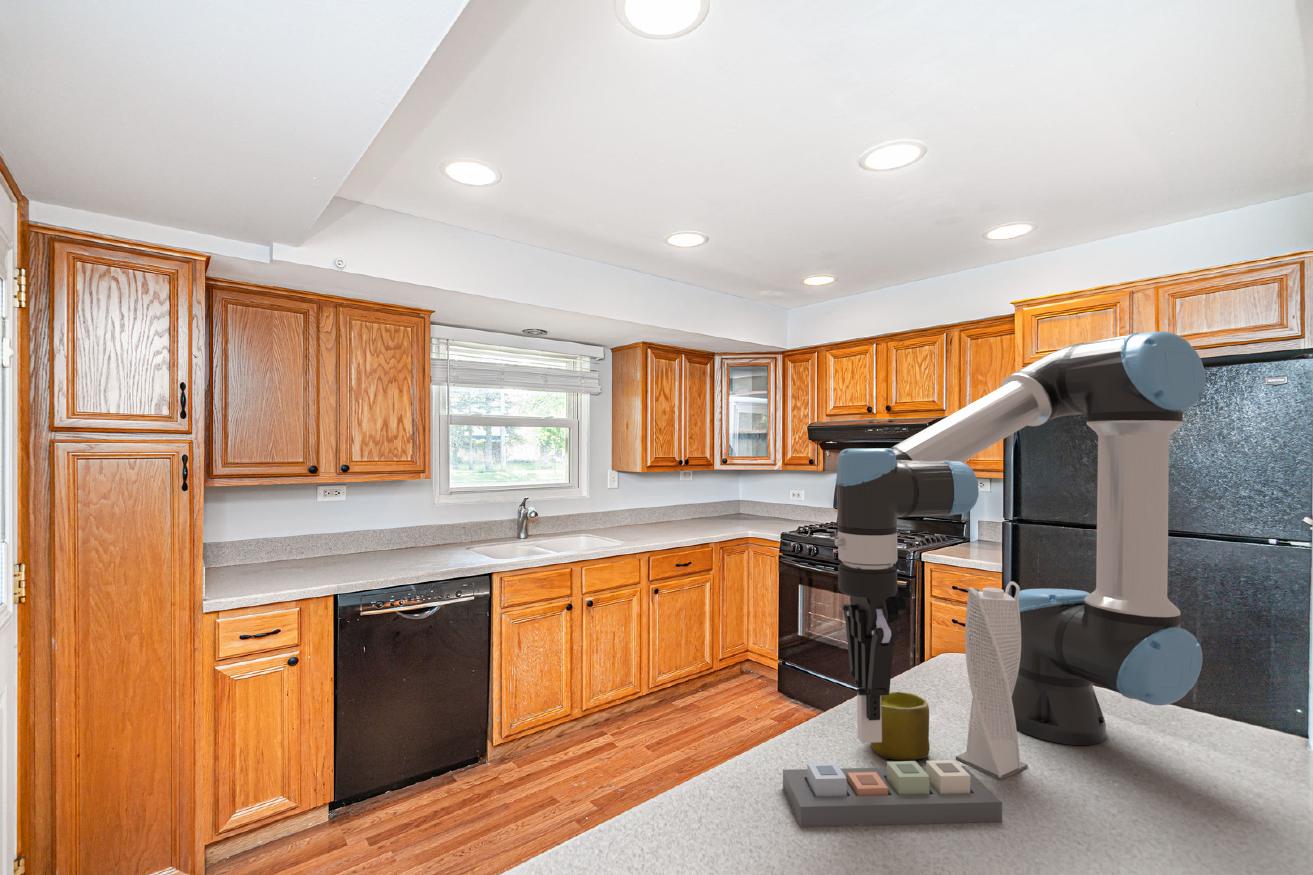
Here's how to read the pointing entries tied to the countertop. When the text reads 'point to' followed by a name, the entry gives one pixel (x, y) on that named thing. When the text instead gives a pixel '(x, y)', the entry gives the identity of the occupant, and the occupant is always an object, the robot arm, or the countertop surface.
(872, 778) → the key terracotta
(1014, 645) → the skyscraper
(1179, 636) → the robot arm
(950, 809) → the keyguard frame
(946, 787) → the key ivory
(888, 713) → the mug
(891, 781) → the key sage
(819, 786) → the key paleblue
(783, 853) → the countertop surface
